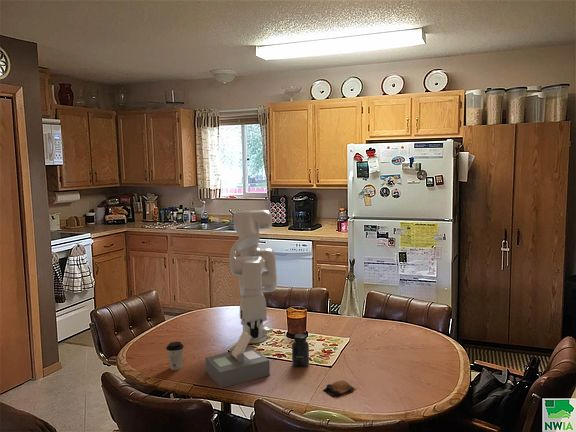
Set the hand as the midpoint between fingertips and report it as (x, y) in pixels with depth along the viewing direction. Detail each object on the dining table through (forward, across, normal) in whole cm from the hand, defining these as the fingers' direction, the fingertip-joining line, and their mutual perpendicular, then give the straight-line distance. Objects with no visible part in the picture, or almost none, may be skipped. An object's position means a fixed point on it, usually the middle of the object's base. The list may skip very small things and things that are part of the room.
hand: (254, 337), depth 192 cm
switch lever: (+7, +8, 0) cm, 11 cm away
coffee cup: (+13, +27, -19) cm, 36 cm away
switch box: (+13, +8, 0) cm, 15 cm away
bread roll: (+14, -17, +33) cm, 39 cm away
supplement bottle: (+13, -17, +6) cm, 23 cm away
